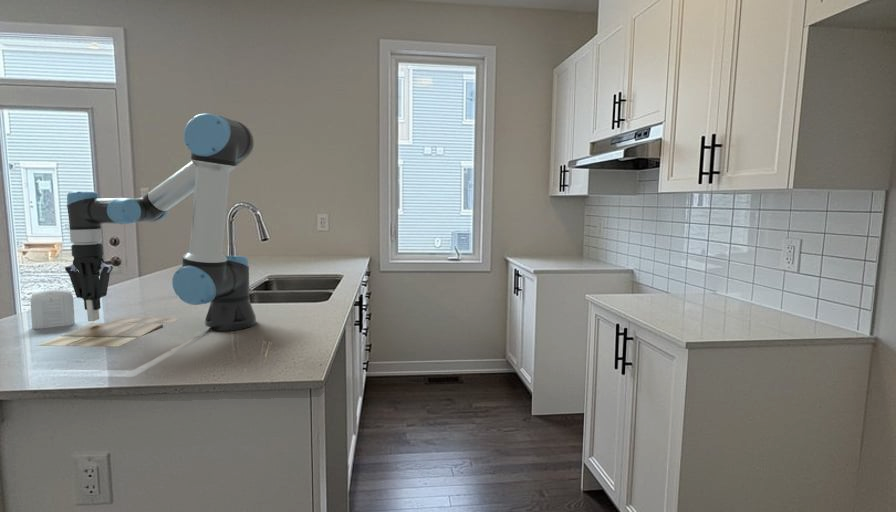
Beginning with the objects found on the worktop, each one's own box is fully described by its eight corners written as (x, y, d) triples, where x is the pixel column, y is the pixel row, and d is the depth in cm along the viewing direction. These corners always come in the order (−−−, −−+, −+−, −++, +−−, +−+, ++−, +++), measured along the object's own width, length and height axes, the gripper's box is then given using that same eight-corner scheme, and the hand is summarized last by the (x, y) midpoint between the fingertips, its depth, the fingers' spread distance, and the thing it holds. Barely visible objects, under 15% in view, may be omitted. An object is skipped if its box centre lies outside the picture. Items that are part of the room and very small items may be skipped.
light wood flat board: (139, 340, 137) (139, 336, 137) (118, 350, 128) (118, 346, 128) (63, 339, 137) (62, 335, 137) (36, 349, 128) (35, 344, 128)
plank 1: (163, 327, 148) (162, 323, 148) (140, 340, 137) (140, 336, 137) (92, 326, 148) (91, 322, 148) (64, 339, 137) (63, 334, 137)
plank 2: (180, 321, 158) (180, 318, 158) (172, 326, 153) (172, 322, 153) (116, 322, 157) (116, 318, 156) (106, 326, 151) (106, 322, 151)
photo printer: (76, 325, 152) (73, 287, 150) (74, 328, 148) (71, 289, 147) (33, 329, 146) (30, 290, 145) (31, 333, 143) (27, 292, 141)
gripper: (117, 242, 146) (123, 317, 149) (74, 242, 146) (81, 317, 149) (99, 244, 139) (106, 323, 142) (54, 244, 139) (62, 323, 142)
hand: (93, 320), depth 145 cm, fingers closed
